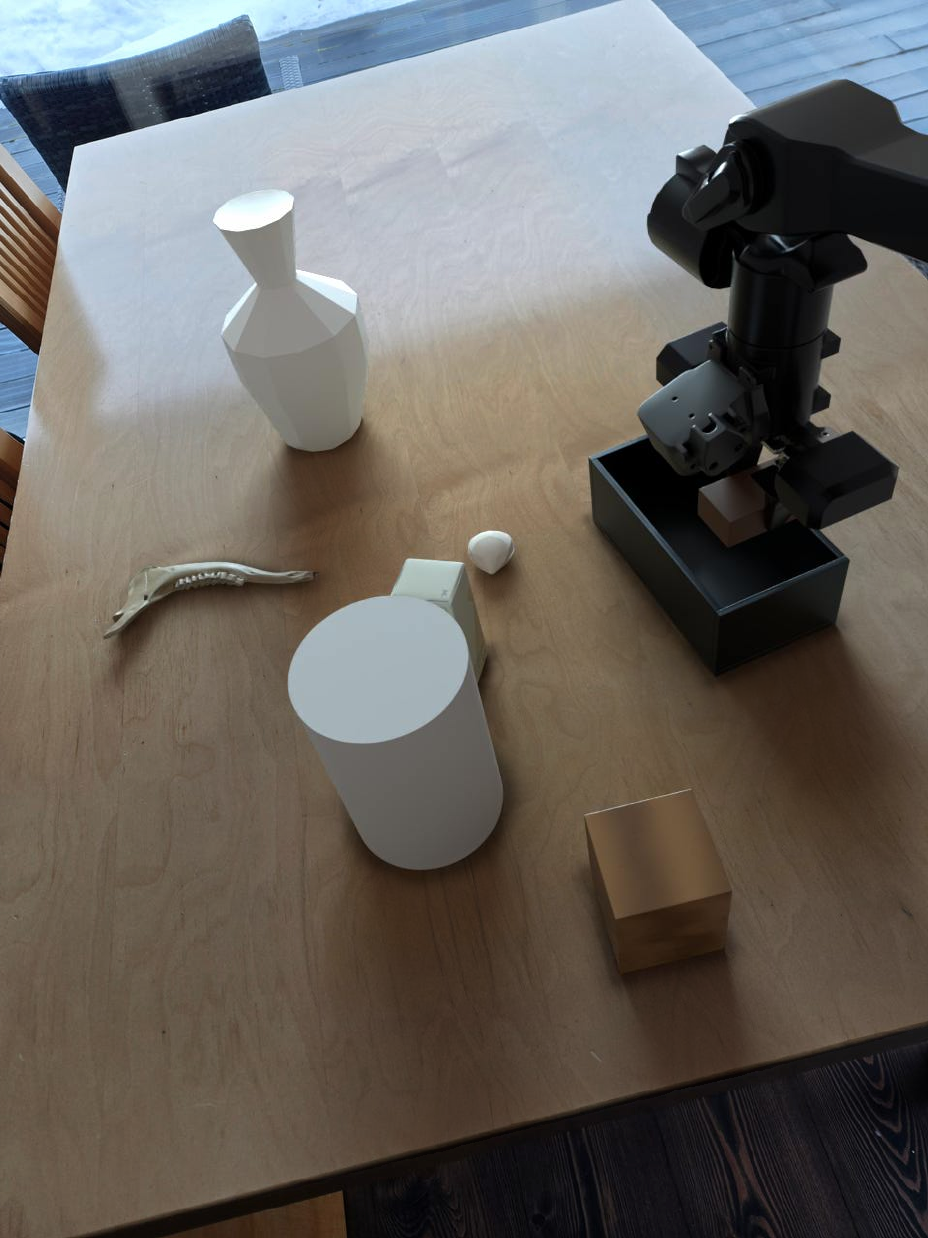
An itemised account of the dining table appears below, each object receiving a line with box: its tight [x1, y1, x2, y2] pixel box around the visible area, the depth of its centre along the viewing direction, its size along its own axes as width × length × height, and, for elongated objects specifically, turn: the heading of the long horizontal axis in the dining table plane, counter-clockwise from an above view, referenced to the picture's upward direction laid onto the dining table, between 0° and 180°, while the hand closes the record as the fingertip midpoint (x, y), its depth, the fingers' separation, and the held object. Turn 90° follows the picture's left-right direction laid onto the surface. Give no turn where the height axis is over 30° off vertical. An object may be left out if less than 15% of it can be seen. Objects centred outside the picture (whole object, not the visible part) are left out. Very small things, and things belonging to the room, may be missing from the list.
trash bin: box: [587, 433, 851, 678], centre depth 79 cm, size 21×11×8 cm, turn 23°
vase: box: [212, 188, 370, 453], centre depth 94 cm, size 14×14×25 cm
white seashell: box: [467, 530, 515, 575], centre depth 85 cm, size 4×5×2 cm
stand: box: [583, 788, 733, 975], centre depth 60 cm, size 7×7×9 cm
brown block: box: [698, 455, 796, 548], centre depth 66 cm, size 7×4×2 cm, turn 113°
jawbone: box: [102, 561, 320, 640], centre depth 90 cm, size 9×20×2 cm, turn 107°
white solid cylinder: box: [287, 595, 504, 871], centre depth 65 cm, size 12×12×17 cm
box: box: [389, 558, 489, 684], centre depth 75 cm, size 5×4×11 cm
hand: (755, 510), depth 67 cm, fingers closed on brown block, 4 cm apart
